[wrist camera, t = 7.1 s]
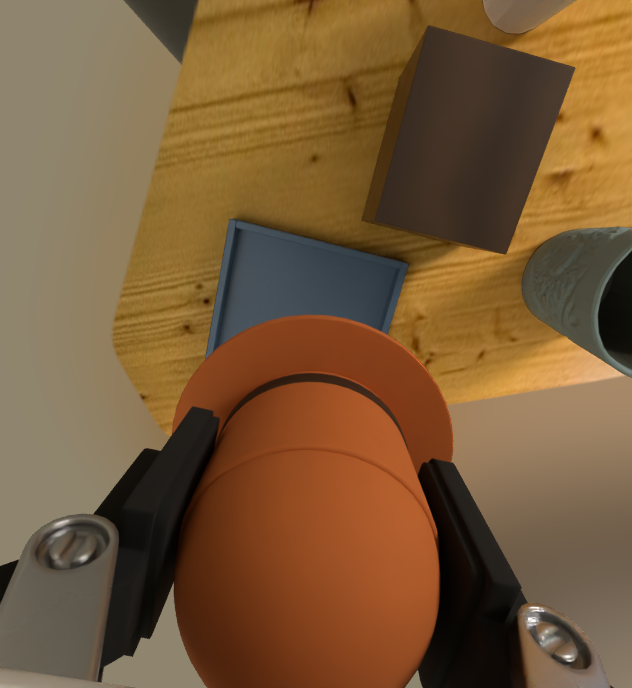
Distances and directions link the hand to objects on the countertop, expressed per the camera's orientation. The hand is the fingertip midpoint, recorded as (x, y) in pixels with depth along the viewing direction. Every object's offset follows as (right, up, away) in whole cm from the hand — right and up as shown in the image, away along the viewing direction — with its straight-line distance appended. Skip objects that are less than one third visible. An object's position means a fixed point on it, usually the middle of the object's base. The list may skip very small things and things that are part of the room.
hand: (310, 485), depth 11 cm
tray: (-1, +7, +27) cm, 27 cm away
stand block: (+10, +18, +23) cm, 31 cm away
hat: (0, +1, +2) cm, 2 cm away
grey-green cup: (+22, +9, +26) cm, 35 cm away
